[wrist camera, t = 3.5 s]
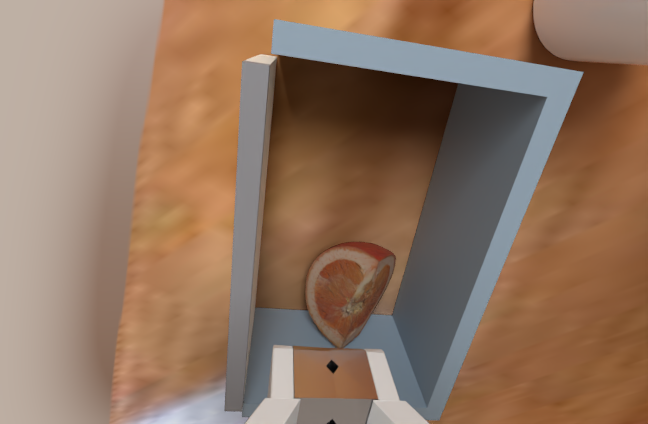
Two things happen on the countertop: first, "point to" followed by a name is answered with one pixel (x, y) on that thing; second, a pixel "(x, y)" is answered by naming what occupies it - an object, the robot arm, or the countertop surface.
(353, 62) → the crate
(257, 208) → the white rectangular panel
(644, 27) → the pill bottle
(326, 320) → the fruit slice
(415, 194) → the countertop surface
